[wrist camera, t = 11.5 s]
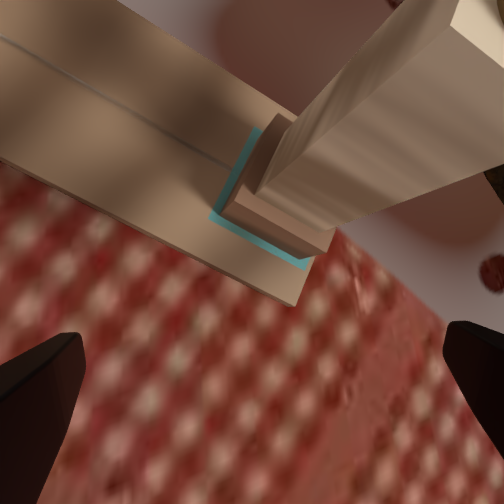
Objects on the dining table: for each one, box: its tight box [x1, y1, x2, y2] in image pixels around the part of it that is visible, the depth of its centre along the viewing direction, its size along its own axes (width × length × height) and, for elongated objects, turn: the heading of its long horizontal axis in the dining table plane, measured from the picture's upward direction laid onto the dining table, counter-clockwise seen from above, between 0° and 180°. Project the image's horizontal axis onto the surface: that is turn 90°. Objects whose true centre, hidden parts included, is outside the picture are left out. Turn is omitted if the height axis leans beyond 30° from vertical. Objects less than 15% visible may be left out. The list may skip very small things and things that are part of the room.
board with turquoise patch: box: [0, 0, 315, 307], centre depth 20 cm, size 20×10×1 cm, turn 65°
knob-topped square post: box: [219, 0, 504, 260], centre depth 14 cm, size 5×5×15 cm
